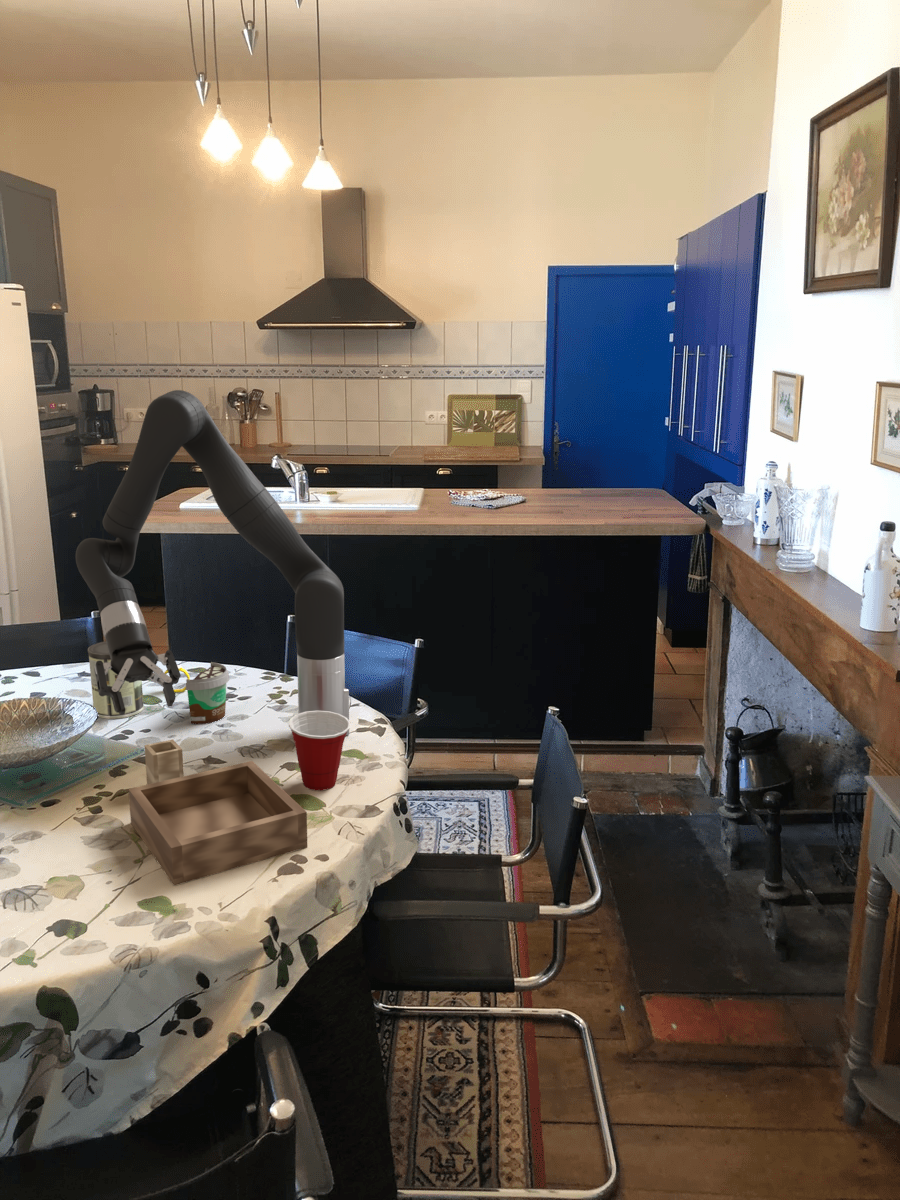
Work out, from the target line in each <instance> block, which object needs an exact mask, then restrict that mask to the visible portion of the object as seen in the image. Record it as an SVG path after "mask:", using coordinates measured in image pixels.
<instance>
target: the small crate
mask: <svg viewBox="0 0 900 1200" xmlns="http://www.w3.org/2000/svg"><path fill="white" fill-rule="evenodd" d="M143 746H144V757H145V758H144V760H145V772H146V785H148V784H152V783H157V782H161V781H165V780H170V779H174V778H178V777H183V776H185V774H184V759H183V748H182V747H181V746H180V745H179V744H178V743H177V742H176V741H175V740H174V739H168V740H162V741H159V742H154V743H148V744H145V745H143Z"/></svg>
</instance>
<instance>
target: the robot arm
mask: <svg viewBox="0 0 900 1200" xmlns="http://www.w3.org/2000/svg"><path fill="white" fill-rule="evenodd" d="M181 448H183V449H184V450H185V451H186V452H187V454H188V455H189V456H190V457H191V458H192V459H193V460H194V462H195V463H196V465H197V466H198V468H199V469H200V470H201V472H202V474H203V476H204V477H205V480H206V482H207V485H208V488H209V490H210V491H211V494H212V496H213V498H214V500H215V502H216V505H217V506H218V508H219V510H220V511H221V513H222V514H223V516H224V517H225V518H226V520H227V521H228V522H229V523H230V524H231V526H233V529H235V530H236V532H237V533H238V534H239V535H240V536H241V537H242V538H243V539H244V540H245V541H246V542H247V543H248V544H249V545H250V546H252V547H253V548H254V549H255V550H256V551H258V552H259V553H260V554H262V555H263V556H264V557H266V558H267V559H268V560H269V561H270V562H272V564H273V565H274V566H275V567H276V568H277V569H278V570H279V572H280V573H281V575H283V577H284V578H285V580H286V582H288V584H289V585H290V588H292V590H293V593H295V595H294V619H295V620H294V622H295V623H294V625H295V643H296V656H297V657H296V658H297V661H296V662H297V663H296V665H297V703H298V705H297V706H298V707H297V709H298V712H297V714H299V713H303V712H307V711H329V712H333V713H338V714H340V715H342V716H344V717H346V718H347V719H348V720H349V721H350V691H349V689H348V688H347V687H346V683H345V682H346V681H345V680H346V678H345V677H346V676H345V674H346V673H345V671H346V670H345V668H346V667H345V591H344V585H343V583H342V580H340V578H339V576H338V575H337V574H336V573H335V572H334V571H333V570H332V569H331V568H330V567H328V565H326V563H325V562H324V561H322V559H321V558H320V557H319V556H318V555H317V554H316V553H315V552H314V551H313V550H312V549H311V548H310V547H309V545H308V544H307V543H306V542H305V540H304V539H303V538H302V536H301V535H300V533H299V532H298V530H297V529H296V528H295V526H294V524H293V523H292V522H291V520H290V519H289V517H288V516H287V515H286V513H285V511H284V510H283V509H282V508H281V506H280V505H279V503H278V502H277V501H276V499H275V498H274V497H273V495H272V494H271V493H270V492H269V490H268V489H267V488H266V487H265V486H264V485H263V483H262V482H261V481H260V480H259V479H258V477H257V476H256V475H255V474H254V473H253V471H252V470H251V469H250V467H249V466H248V465H247V464H246V462H245V461H244V460H243V458H241V457H240V456H239V454H238V453H237V452H236V451H235V450H234V448H232V446H231V445H230V443H228V441H227V439H226V438H225V437H224V435H223V433H222V432H221V431H220V429H219V427H218V426H217V425H216V423H215V421H214V419H213V418H212V416H211V415H210V413H209V412H208V409H206V407H205V405H203V402H202V401H201V400H200V399H199V398H198V397H197V396H195V395H194V394H192V393H191V392H189V391H186V390H181V389H175V390H171V391H168V392H166V393H164V394H162V395H159V396H158V397H156V398H155V399H153V400H152V401H151V402H150V404H149V405H148V406H147V409H146V412H145V414H144V418H143V422H142V426H141V428H140V433H139V436H138V440H137V443H136V446H135V449H134V452H133V454H132V458H131V460H130V462H129V464H128V466H127V468H126V471H125V474H124V475H123V477H122V480H121V482H120V484H118V485H119V486H118V487H117V489H116V491H115V494H114V495H113V497H112V499H111V501H110V504H109V505H108V507H107V510H106V512H105V513H104V515H103V519H102V526H103V528H104V530H105V531H106V532H107V533H108V534H110V535H111V536H113V537H115V538H116V539H115V540H110V539H104V538H96V537H90V538H85V539H83V540H82V541H81V542H80V543H79V544H78V546H77V547H76V551H75V563H76V567H77V569H78V572H79V573H80V576H82V579H83V580H84V582H85V583H86V585H87V586H88V588H89V589H90V591H91V593H92V594H93V595H94V597H95V599H96V600H95V601H96V604H97V608H98V611H99V615H100V620H101V621H100V622H101V628H102V634H103V636H104V639H105V641H106V643H107V647H108V651H109V654H110V658H111V662H107V663H103V662H102V661H97V662H96V665H95V669H94V671H95V676H96V682H97V687H98V692H99V695H100V696H105V695H106V696H110V697H111V698H112V702H113V706H114V710H115V712H116V713H119V714H120V715H124V714H125V706H124V702H123V698H122V695H121V692H119V691H120V689H121V688H122V686H123V684H124V682H125V681H127V682H129V683H132V682H135V681H142V682H144V681H147V680H148V679H150V680H151V681H152V682H153V683H156V684H158V685H159V686H161V687H162V692H163V695H164V700H165V703H166V705H167V707H168V708H169V707H173V705H174V703H175V701H176V692H174V686H173V685H177V684H178V683H179V680H180V678H181V676H182V674H181V671H179V669H178V666H177V665H178V664H177V661H176V659H175V658H176V657H175V656H174V654H173V651H172V650H170V649H168V650H166V652H164V653H160V654H157V653H156V651H154V649H153V645H152V641H151V638H150V636H149V631H148V627H147V624H146V621H145V618H144V615H143V612H142V609H141V608H140V605H139V602H138V598H137V594H136V592H135V588H134V586H133V584H132V582H130V580H128V579H126V578H124V577H125V576H126V575H128V574H129V573H130V572H131V570H132V569H133V567H134V565H135V561H136V553H137V548H138V543H139V537H140V534H141V530H142V529H143V527H144V525H145V523H146V521H147V519H148V518H149V515H150V513H151V511H152V508H153V506H154V504H155V502H156V498H157V495H158V492H159V489H160V488H159V487H160V484H161V482H162V479H163V476H164V474H165V472H166V470H167V469H168V467H169V464H171V462H172V460H173V459H174V457H175V456H176V455H177V453H178V452H179V451H180V449H181ZM158 662H160V663H161V664H162V665H163V666H165V667H166V670H168V673H166V674H165V673H164V672H165V671H164V670H163V669H162V668H160V666H158V665H157V663H158ZM109 669H111V670H112V671H113V672H114V673H116V674H117V675H118V677H117V679H116V681H115V683H114V685H113V686H107V681H106V676H105V675H106V674H107V673H108V670H109ZM348 735H350V729H349V730H348V732H347V733H346V736H348Z"/></svg>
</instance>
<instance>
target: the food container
mask: <svg viewBox="0 0 900 1200" xmlns="http://www.w3.org/2000/svg"><path fill="white" fill-rule="evenodd" d="M229 681H230V674H229V670H228V669H227V667H226V666H225V665H224V664H221V663H218V662H212V661H211V662H210V667H208V668H207V669H206V670H204V671H201V672H199V673H198V674H197V675H196V676H195V677H194V678H193V679H190V680H189V679H187V678H186V681H185V686H186V690H185V691H187V700H188V708H189V709H188V710H189V718H190V725H206V723H208V724H211V723H212V722H213V723H216V722H219V721H221V720H223V719H224V718H225V717H224V716H226V704H227V703H226V702H227V683H228V682H229ZM223 717H224V718H223ZM222 718H223V719H222ZM220 719H221V720H220ZM218 720H219V721H218ZM215 721H216V722H215Z"/></svg>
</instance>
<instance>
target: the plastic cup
mask: <svg viewBox="0 0 900 1200" xmlns="http://www.w3.org/2000/svg"><path fill="white" fill-rule="evenodd" d="M351 725H352V724H351V721H350V719H349V720H348V719H347V718H346V717H344V716H342V715H340V714H338V713H333V712H329V711H307V712H303V713H299V714H298V713H296V714H295V715H293V716H292V717H290V719H289V721H288V727H289V728H290V731H291V734H292V739H293V742H294V746H295V751H296V757H297V758H296V759H297V762H298V763H297V764H298V767H299V771H300V775H301V780H302V782H303V783H302V784H303V786H304V788H307V789H308V790H311V791H325V790H330V789H332V788H333V787H334V786H336V784H337V780H338V774H339V773H338V772H339V768H340V764H341V757H342V752H343V746H344V742H345V739H346V736H347V735H346V733H347V732H348V730H349V731H350V729H351Z"/></svg>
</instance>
